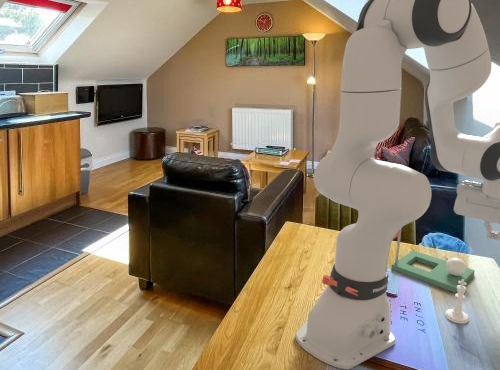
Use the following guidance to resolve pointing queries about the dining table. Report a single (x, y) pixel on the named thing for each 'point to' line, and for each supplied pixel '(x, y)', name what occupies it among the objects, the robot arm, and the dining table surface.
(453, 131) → the robot arm
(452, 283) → the putting mat
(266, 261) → the dining table surface
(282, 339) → the dining table surface
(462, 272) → the ball
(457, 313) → the chess piece
